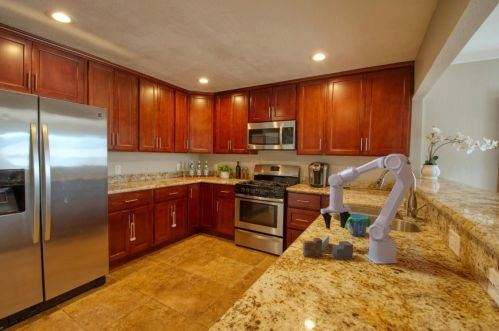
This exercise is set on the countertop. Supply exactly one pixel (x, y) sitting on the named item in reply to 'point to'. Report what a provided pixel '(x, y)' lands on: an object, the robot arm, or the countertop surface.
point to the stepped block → (343, 250)
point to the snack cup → (358, 224)
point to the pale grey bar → (325, 242)
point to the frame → (313, 248)
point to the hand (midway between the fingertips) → (335, 228)
